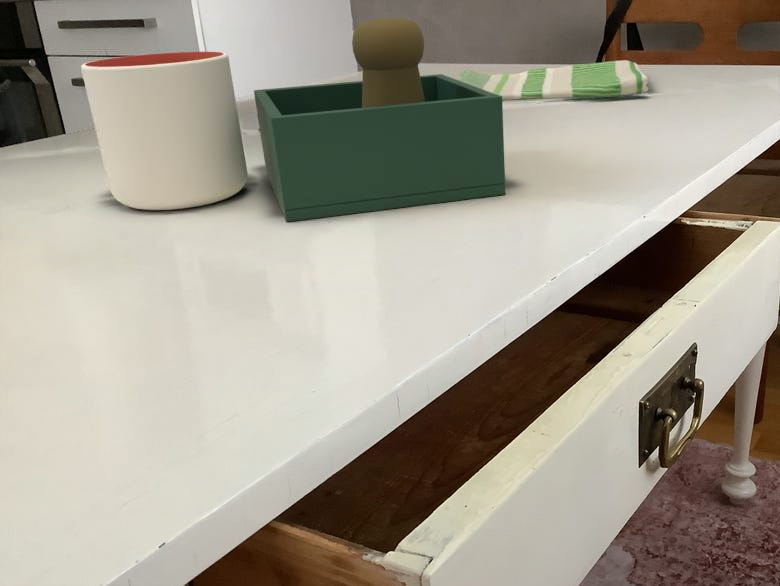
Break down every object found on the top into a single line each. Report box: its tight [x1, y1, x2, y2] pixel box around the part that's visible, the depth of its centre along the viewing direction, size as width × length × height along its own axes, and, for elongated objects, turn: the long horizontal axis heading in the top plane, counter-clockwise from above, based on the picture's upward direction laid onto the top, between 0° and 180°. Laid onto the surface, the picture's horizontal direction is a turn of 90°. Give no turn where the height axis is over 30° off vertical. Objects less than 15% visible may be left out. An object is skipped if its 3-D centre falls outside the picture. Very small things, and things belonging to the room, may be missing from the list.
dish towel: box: [457, 59, 650, 101], centre depth 105 cm, size 18×23×3 cm
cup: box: [80, 51, 248, 211], centre depth 62 cm, size 10×10×10 cm
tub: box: [253, 73, 506, 223], centre depth 64 cm, size 16×16×7 cm
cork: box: [351, 17, 425, 108], centre depth 63 cm, size 6×6×11 cm
